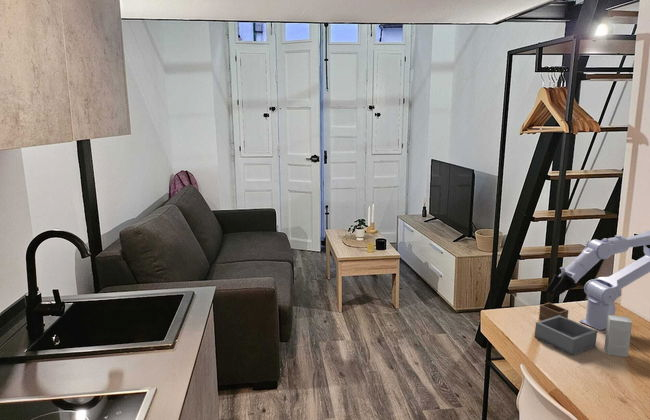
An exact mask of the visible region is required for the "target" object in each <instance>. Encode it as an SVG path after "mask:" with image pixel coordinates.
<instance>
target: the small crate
mask: <svg viewBox="0 0 650 420" xmlns="http://www.w3.org/2000/svg"><path fill="white" fill-rule="evenodd" d="M558 315H560V316H562V317H565V318H567V319H569V309H566V308H563V307H561V306H559V305H556V304H554V303H551V302H546V303H544V304H540V306H539V314H538V320H540V321H542V320H545V319H549V318H552V317H555V316H558Z"/></svg>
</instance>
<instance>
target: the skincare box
mask: <svg viewBox="0 0 650 420" xmlns="http://www.w3.org/2000/svg"><path fill="white" fill-rule="evenodd" d="M632 326H633V322H632V320H631V319H630V317H629V316H623V315H622V316H620V315H615V316H613V315H608V318H607V327H606V329H605V331H606V332H605V337H604V348H603V349H604V352H605V354H606V355H609V356H616V357H624V358H625V357H626V358H628V357H629V352H630V344H631V335H632Z"/></svg>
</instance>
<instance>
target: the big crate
mask: <svg viewBox="0 0 650 420" xmlns="http://www.w3.org/2000/svg"><path fill="white" fill-rule="evenodd" d="M597 337H598V331H597V329H596V330H595V329H594V328H590V327H588V326H587V325H585V324H584V325H583V324H582V323H578V322H577V321H574V320H573V319H572V320H571V319H570V318H568V319H567V318H565V317H562V316H560V315H558V316H555V317H552V318H549V319H545V320H540V321H536V322H535V330H534V338H535V339H537V340H539V341H542V342H543V343H546V344H547V345H550V346H552V347H553V348H555V349H558V350H559V351H562V352H564V353H565V354H568V355H570V356H575V355H577V354H579V353H582V352H584V351H587V350H591V349H593V348H594V347H596V345H597Z"/></svg>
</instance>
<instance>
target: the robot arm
mask: <svg viewBox="0 0 650 420" xmlns="http://www.w3.org/2000/svg"><path fill="white" fill-rule="evenodd" d="M647 245H650V230H646V231H645V232H643V233H639V234H636V235H633V236H629V237H625V236H623V235H619V234H616V235H614V237H608V238H606V237H605V238H602V239H601V240H599V239H596V238H594V239H592V240H590V241H589V240H588V241H587V242H586V243H585V247H584V248H583V249H582V251H581V253H580V254H579V255H578V256H577V257H575V259H574V260H572V261H571V262H570V263H569V264H568V265H567V266H566V267H565V268H564V267H563V266H560V267H559V270H560V272H561V273H559V275H558V274H557V273H554V274H553V276H552V280H551V281H550V283H549V284H548V285H547V287H546V289H545V292H547V294H548V295H553V294H554V295H555V296H556V297H558V296H560V295H561V294H564V293H565V292H567V291H569V290H571V289H574V288H577V287H578V285H577V283H578V281H580V279H582V277H584V276H585V275H586V274H587V273H588V272H589V271H590V270H591V269H592V268H594V266H595V265H597V264H598V263H599V262H600V261H601V260H608V259H609V258H610V257H611V256H613V255H617V254H622V253H625V252H627V251H628V250H629V249H630V248H636V247H641V246H643V253H644V255H643V256H642V257H640V258H638V259H637V260H635V261H633V262H632V263H630V264H628V265H627V266H625V267H623V268H621V269H620V270H617V271H616V272H614V273H612V274H611V275H609V276H599V277H597V278H594V279H590V280H588V281H587V282H585V284H584V286H583V290H584V294H585V295H586V298H587V304H586V313H585V318H583V319H581V320H579V322H580V323H581V324H584V325H585V326H589V327H592V328H593V329H596V330H598V331H602V330H606V327H607V318H608V315H613V316H616V304H615V302H616V301H617V299H619V298H620V297H621V296H622V289H623V288H625V287H627V286H628V285H631V284H633V283H634V282H635V281H637V280H639V279H640V278H642V277H643V276H646V275H647V274H649V273H650V248H648V247H647Z"/></svg>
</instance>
